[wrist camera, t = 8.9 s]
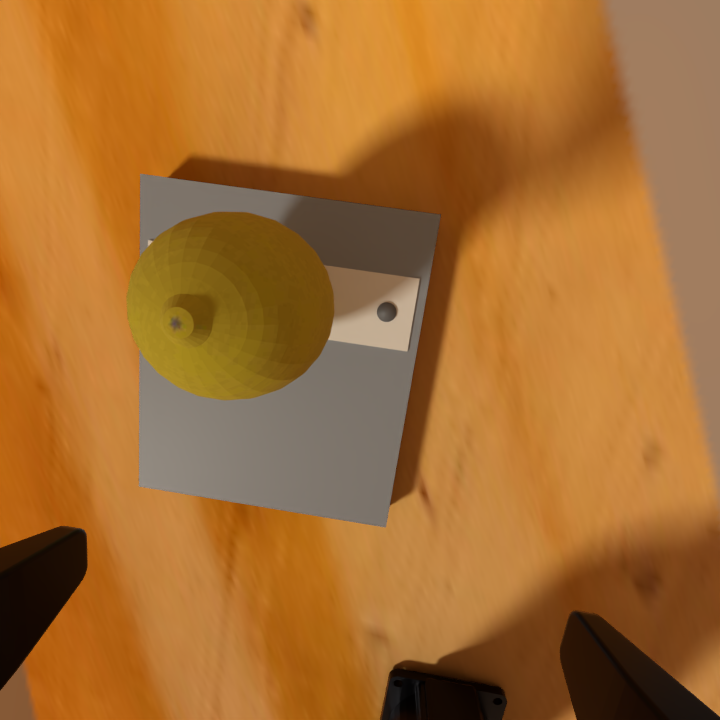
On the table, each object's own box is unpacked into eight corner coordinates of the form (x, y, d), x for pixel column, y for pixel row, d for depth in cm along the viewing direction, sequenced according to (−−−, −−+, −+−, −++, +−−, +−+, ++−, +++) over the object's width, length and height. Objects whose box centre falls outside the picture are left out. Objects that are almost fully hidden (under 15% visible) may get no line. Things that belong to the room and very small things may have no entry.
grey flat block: (385, 508, 19) (385, 529, 18) (157, 470, 20) (136, 488, 18) (436, 219, 16) (441, 213, 15) (161, 182, 17) (137, 172, 15)
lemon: (228, 211, 15) (62, 147, 7) (362, 250, 15) (336, 228, 7) (203, 342, 16) (39, 405, 9) (327, 379, 16) (273, 474, 9)
